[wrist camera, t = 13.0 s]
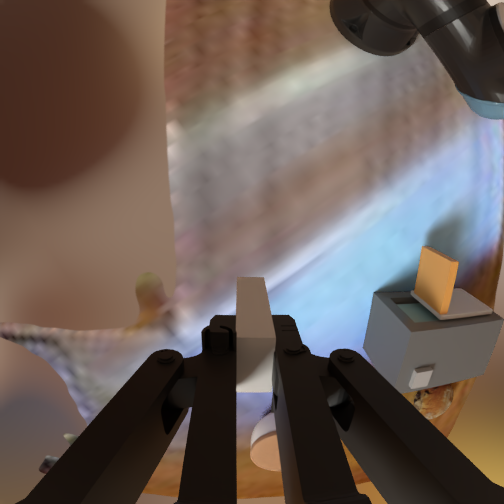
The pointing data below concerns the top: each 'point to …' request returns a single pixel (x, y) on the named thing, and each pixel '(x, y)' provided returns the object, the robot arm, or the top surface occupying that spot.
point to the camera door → (444, 288)
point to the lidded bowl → (265, 444)
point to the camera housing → (426, 343)
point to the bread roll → (434, 400)
